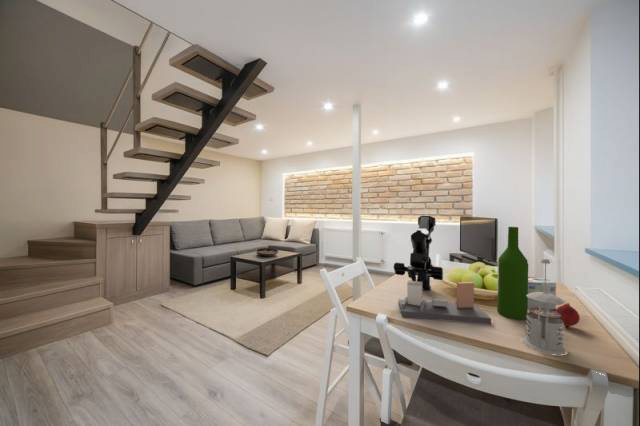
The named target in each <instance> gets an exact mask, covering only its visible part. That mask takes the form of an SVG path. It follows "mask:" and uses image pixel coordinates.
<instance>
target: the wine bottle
mask: <svg viewBox="0 0 640 426" xmlns="http://www.w3.org/2000/svg"><path fill="white" fill-rule="evenodd" d="M507 228H508V231H507V233H508V234H507V248H506V249H505V250H504V251H503V252H502V253H501V255H500V256H499V257H498V261H497V290H496V291H497V294H496V296H497V300H496V304H497V306H496V311H497V313H498V314H499V315H500V316H503V317H505V318H509V319H512V320H518V321H519V320H521V321H523V320H528V319H527V313H529V312H528V311H529V310H528V309H529V308H528V298H527V296H526V295H527V294H528V277H529V262H528V259H527V258H526V256H525V255H524V254H523V252H522V251H521V249H520V248H519V227H518V226H508V227H507Z"/></svg>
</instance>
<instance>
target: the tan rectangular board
mask: <svg viewBox="0 0 640 426" xmlns="http://www.w3.org/2000/svg"><path fill="white" fill-rule="evenodd" d="M474 299H475V282H473V281H469V282H468V281H466V282H465V281H463V282H457V281H456V303H457V305H456V306H457V308H458V309H459V308H474V305H475V300H474Z"/></svg>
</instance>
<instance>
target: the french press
mask: <svg viewBox="0 0 640 426" xmlns="http://www.w3.org/2000/svg"><path fill="white" fill-rule="evenodd" d="M540 263H541V264H544V279H545V292H532V293H529V294H527V295H526V296H527V298H529V299H530V300H533V301H536V302H539V303H544V309H543V308H540V306H539V308H537V307H533V308H528V311H529V312H528V313H527V319H525V321H526V328H525V330H526V332H525V335H526V336H525V337H523V338H521V341H523V342H522V343H523V344H524V345H525V346H526V347H528V348H529V349H532V350H534V351H537V352H538V353H541V354H544V355H545V354H546V355H549V354H556V355H561V354H565V353H566V350H567V349H566V347H564V342H563V341H564V338H563V337H564V331H565V330H564V327H565V326H564V322H563V321H562V320H561V319H560V318H561V317H562V316H561V315H560V314H559V313H557V312H555V311H556V310H555V311H554V310H553V309H548V308H547V309H545V304H550V305H556V306H557V305H558V306H562V305H564V304H565V300H563V299H562V298H560V297H559V296H557V295H556V296H555V295H552V294H550V293H546V278H547V265H549V264H550V263H551V261H550V259H547V258H543V259H541V261H540ZM562 332H563V333H562ZM565 349H566V350H565Z"/></svg>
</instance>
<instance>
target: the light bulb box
mask: <svg viewBox="0 0 640 426" xmlns="http://www.w3.org/2000/svg"><path fill="white" fill-rule="evenodd" d="M532 292H545V277H541V278H540V277H535V278H528V294H529V293H532ZM546 293H550V294H552V295H555V296H557V282H556V281H552V280H550V279H546ZM539 306H540V308H543V309H544V303H539V302H536V301H533V300H530V299H529V298H528V309H529V308H533V307H537V308H539ZM547 308H548V309H549V310H554V309H557V305H550V304H545V309H547Z"/></svg>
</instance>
